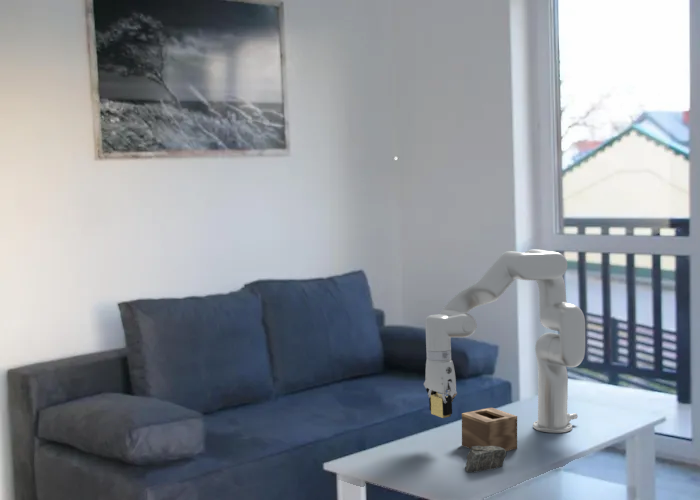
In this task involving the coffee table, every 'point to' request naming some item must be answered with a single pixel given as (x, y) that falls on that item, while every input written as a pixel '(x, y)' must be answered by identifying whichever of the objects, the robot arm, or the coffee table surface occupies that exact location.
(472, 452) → the stone
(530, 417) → the coffee table surface
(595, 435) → the coffee table surface
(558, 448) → the coffee table surface
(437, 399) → the brushed brass block
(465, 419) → the box
